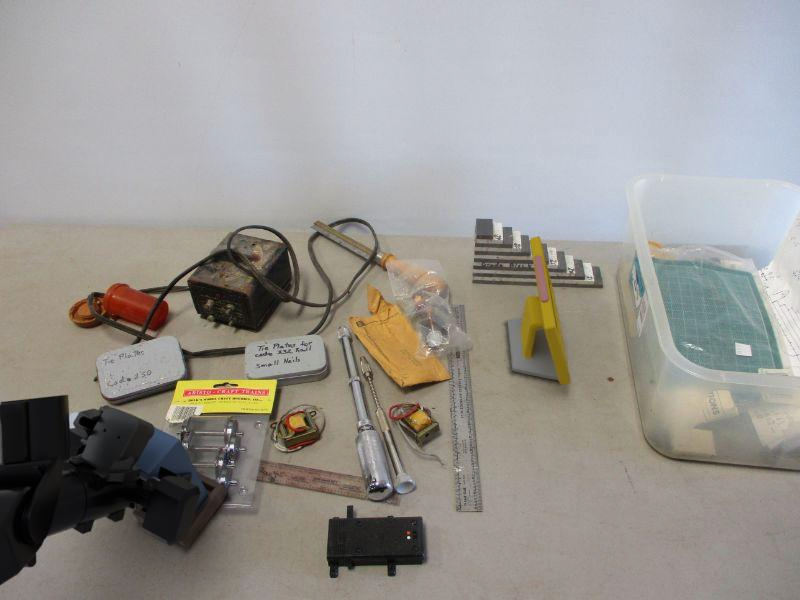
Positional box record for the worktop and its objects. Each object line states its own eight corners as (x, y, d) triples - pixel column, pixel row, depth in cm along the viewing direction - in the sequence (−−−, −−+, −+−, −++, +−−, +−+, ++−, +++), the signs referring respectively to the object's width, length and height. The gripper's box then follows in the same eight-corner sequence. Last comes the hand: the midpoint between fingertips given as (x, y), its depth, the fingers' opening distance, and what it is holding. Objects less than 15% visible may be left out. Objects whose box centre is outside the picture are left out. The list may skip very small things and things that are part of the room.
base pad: (188, 550, 73) (181, 540, 71) (139, 523, 76) (131, 512, 74) (228, 496, 79) (223, 484, 77) (181, 472, 81) (175, 461, 79)
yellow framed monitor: (566, 398, 89) (587, 325, 78) (514, 395, 90) (527, 324, 79) (550, 306, 104) (566, 234, 93) (505, 304, 104) (515, 233, 93)
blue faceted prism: (182, 529, 74) (148, 473, 65) (153, 513, 75) (115, 456, 67) (209, 496, 77) (179, 439, 68) (180, 481, 79) (148, 423, 70)
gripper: (160, 457, 55) (254, 434, 69) (22, 389, 61) (135, 381, 75) (126, 570, 55) (227, 523, 70) (-8, 491, 61) (111, 463, 76)
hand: (173, 468), depth 73 cm, fingers closed on blue faceted prism, 5 cm apart
